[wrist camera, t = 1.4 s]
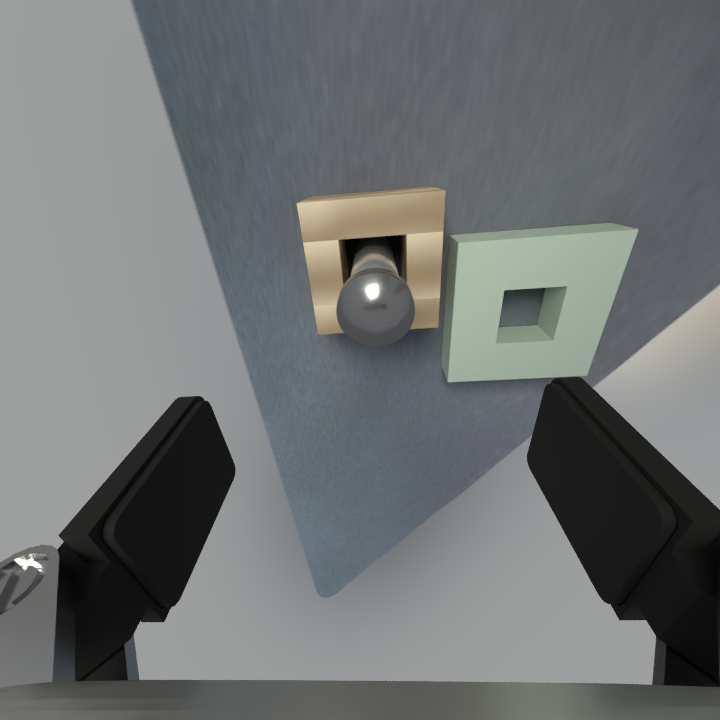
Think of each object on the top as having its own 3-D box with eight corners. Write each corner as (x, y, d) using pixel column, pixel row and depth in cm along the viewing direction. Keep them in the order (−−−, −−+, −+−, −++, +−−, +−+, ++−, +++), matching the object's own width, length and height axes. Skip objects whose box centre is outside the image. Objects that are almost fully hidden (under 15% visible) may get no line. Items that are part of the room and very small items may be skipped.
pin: (348, 231, 25) (331, 276, 14) (396, 227, 25) (415, 270, 14) (352, 278, 27) (340, 349, 16) (397, 275, 27) (414, 345, 16)
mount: (310, 196, 24) (296, 203, 19) (431, 186, 23) (445, 190, 19) (326, 309, 28) (318, 334, 24) (427, 302, 28) (438, 327, 23)
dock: (449, 235, 25) (458, 242, 22) (610, 222, 24) (638, 229, 21) (441, 364, 31) (447, 382, 28) (568, 358, 30) (587, 375, 28)
